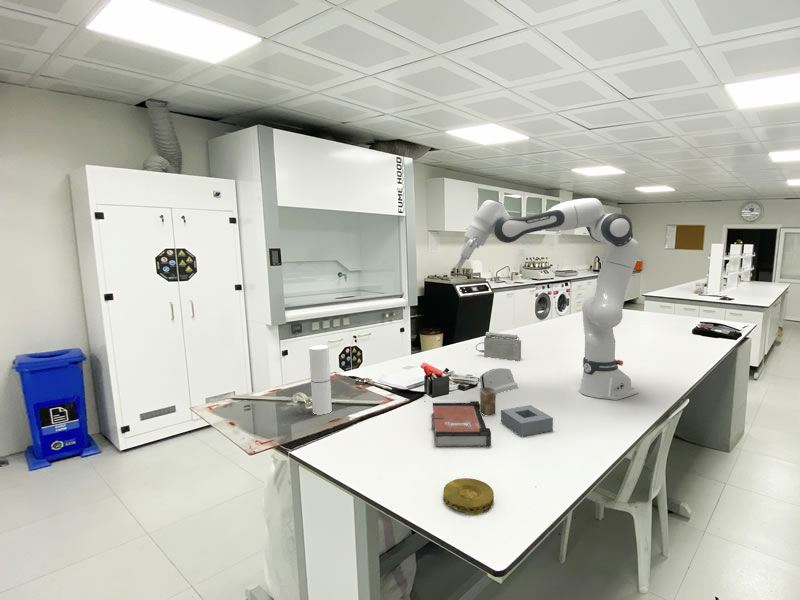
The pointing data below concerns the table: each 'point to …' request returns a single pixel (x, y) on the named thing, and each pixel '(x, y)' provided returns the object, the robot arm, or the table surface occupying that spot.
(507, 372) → the hinge
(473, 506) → the gold round disc
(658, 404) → the table surface
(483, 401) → the peg
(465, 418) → the book
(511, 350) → the geiger counter
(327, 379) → the cylindrical container
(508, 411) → the socket block
